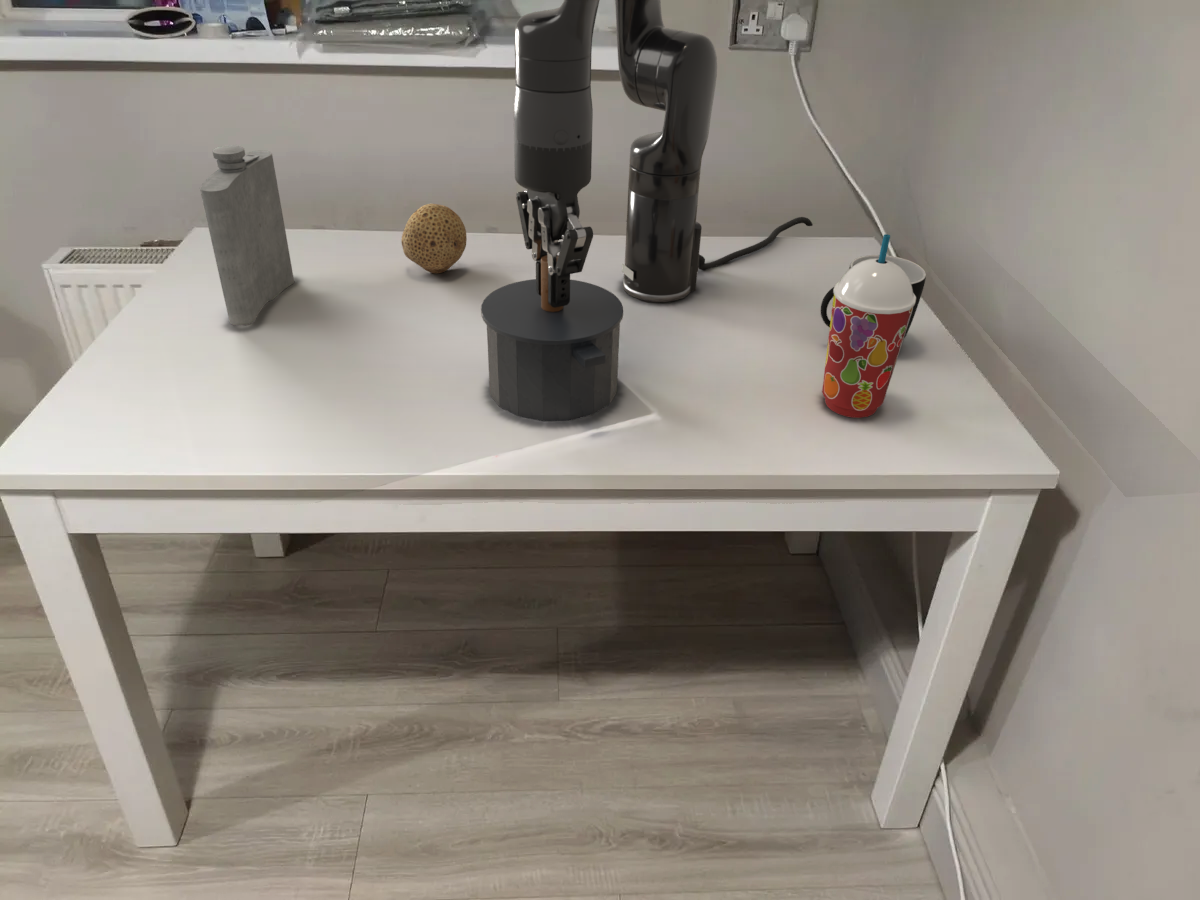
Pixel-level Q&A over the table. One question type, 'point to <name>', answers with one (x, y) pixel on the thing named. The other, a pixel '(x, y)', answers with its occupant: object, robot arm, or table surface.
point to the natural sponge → (434, 238)
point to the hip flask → (247, 231)
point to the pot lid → (551, 312)
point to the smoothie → (866, 334)
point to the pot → (553, 376)
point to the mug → (910, 268)
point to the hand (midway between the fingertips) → (552, 298)
